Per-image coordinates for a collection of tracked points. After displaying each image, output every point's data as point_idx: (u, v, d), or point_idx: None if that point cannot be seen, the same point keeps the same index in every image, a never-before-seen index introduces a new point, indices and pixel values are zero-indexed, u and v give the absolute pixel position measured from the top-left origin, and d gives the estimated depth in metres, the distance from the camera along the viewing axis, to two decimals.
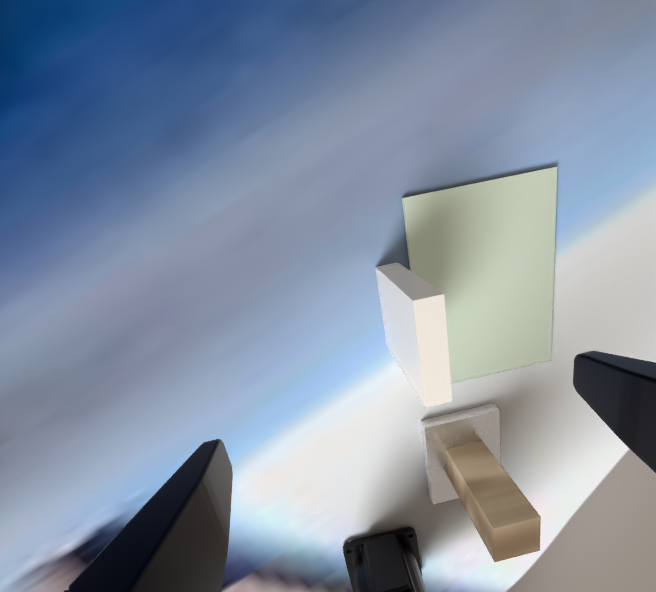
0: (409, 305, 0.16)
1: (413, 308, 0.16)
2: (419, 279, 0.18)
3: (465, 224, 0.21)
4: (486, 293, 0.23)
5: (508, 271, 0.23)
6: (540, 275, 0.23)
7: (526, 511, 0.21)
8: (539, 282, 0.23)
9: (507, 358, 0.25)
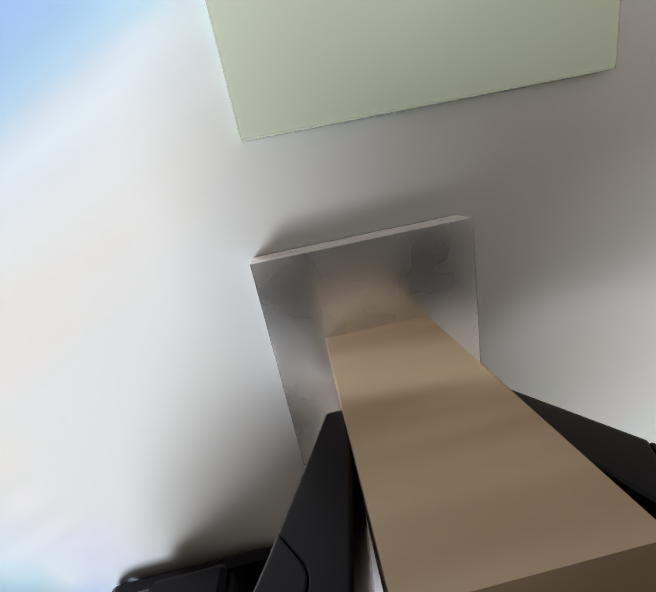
0: None
1: None
2: None
3: None
4: None
5: None
6: None
7: (584, 506, 0.04)
8: None
9: (488, 44, 0.08)
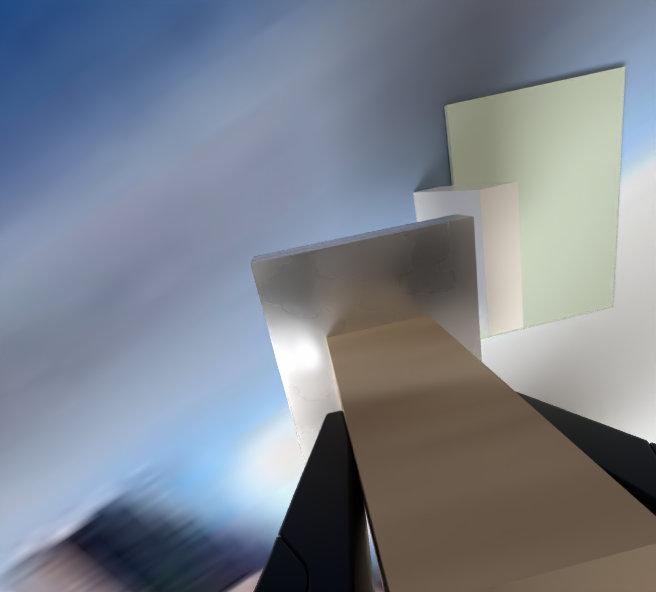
0: (471, 203, 0.13)
1: (479, 200, 0.12)
2: (475, 184, 0.15)
3: (518, 137, 0.18)
4: (540, 224, 0.20)
5: (566, 197, 0.20)
6: (603, 202, 0.20)
7: (588, 506, 0.04)
8: (601, 211, 0.20)
9: (563, 304, 0.22)
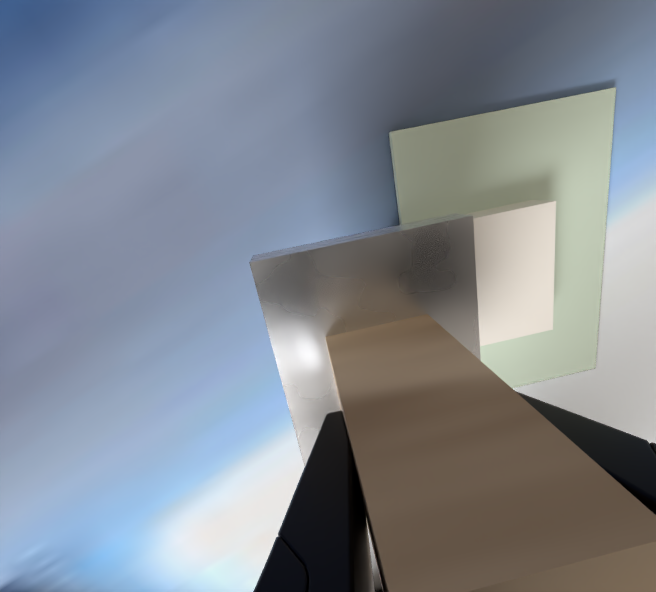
0: (541, 215, 0.14)
1: (555, 210, 0.14)
2: (477, 211, 0.15)
3: (481, 172, 0.15)
4: None
5: None
6: (585, 250, 0.17)
7: (586, 504, 0.04)
8: (583, 260, 0.17)
9: (537, 366, 0.18)
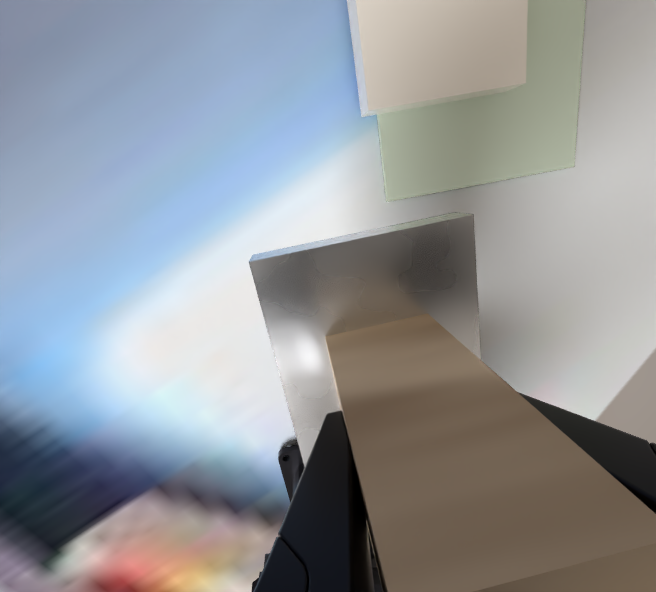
0: None
1: None
2: None
3: None
4: None
5: None
6: (565, 5, 0.15)
7: (588, 505, 0.04)
8: (562, 20, 0.15)
9: (511, 157, 0.17)
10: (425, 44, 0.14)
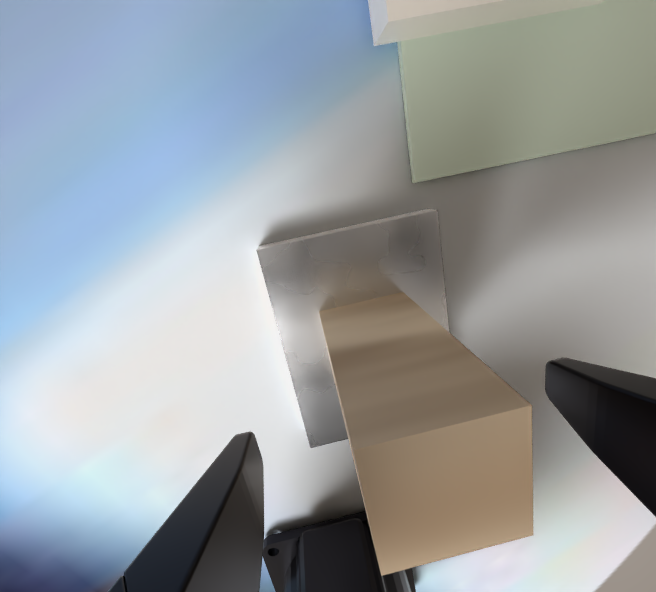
0: None
1: None
2: None
3: None
4: None
5: None
6: None
7: (483, 395, 0.06)
8: None
9: (602, 111, 0.11)
10: None
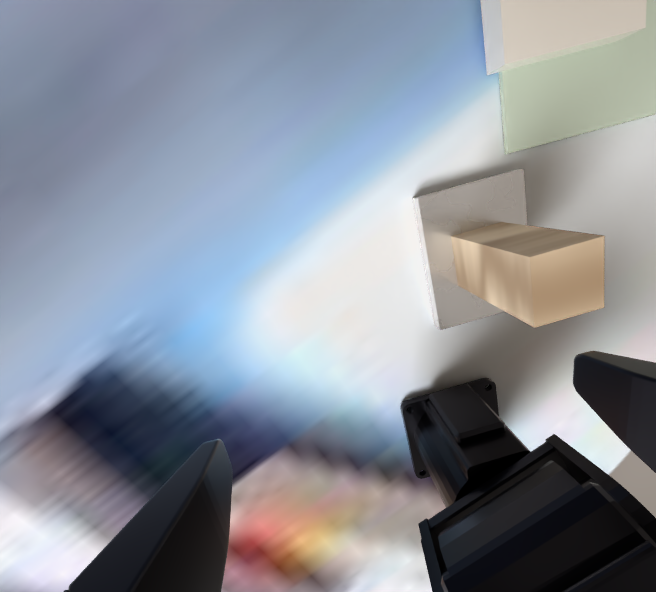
0: None
1: None
2: None
3: None
4: None
5: None
6: None
7: (580, 238, 0.13)
8: None
9: (620, 103, 0.18)
10: None
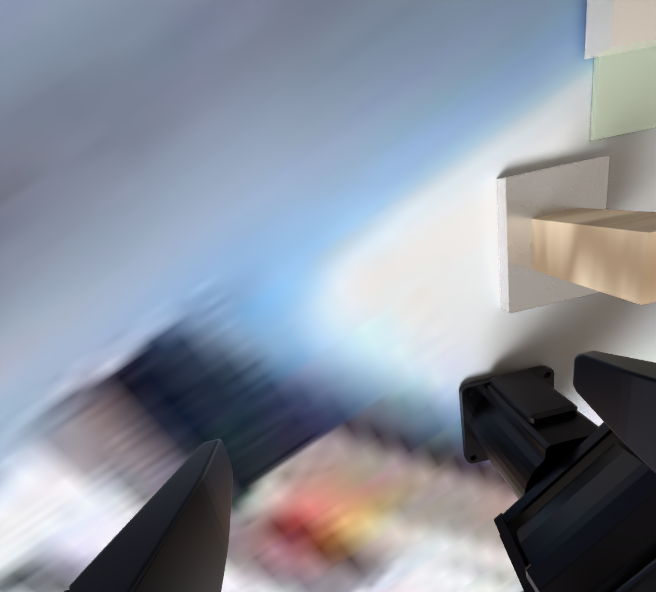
0: None
1: None
2: None
3: None
4: None
5: None
6: None
7: None
8: None
9: None
10: None
